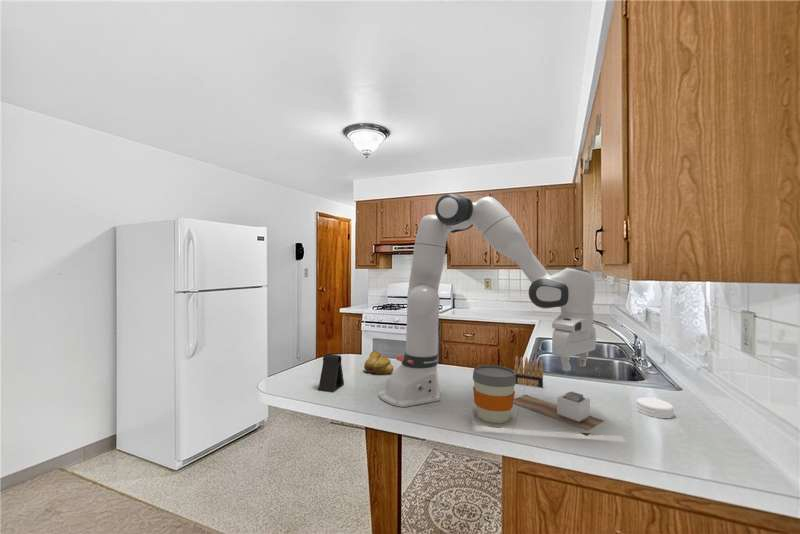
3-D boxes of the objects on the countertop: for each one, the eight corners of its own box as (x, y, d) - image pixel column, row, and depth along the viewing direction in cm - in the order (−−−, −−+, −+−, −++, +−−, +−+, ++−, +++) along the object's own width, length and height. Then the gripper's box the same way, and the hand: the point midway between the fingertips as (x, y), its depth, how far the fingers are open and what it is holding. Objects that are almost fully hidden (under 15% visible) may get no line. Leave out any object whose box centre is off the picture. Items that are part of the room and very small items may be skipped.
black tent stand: (333, 392, 130) (334, 358, 130) (318, 390, 131) (318, 357, 131) (344, 384, 138) (345, 353, 138) (329, 382, 140) (330, 351, 140)
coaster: (628, 409, 122) (629, 398, 122) (649, 405, 126) (650, 395, 126) (659, 421, 113) (659, 409, 113) (680, 417, 117) (681, 406, 117)
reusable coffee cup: (509, 434, 101) (511, 380, 101) (465, 423, 107) (467, 372, 107) (518, 418, 112) (520, 369, 112) (478, 409, 118) (479, 362, 118)
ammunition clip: (543, 390, 138) (544, 358, 138) (542, 391, 136) (543, 359, 136) (513, 385, 142) (514, 355, 142) (512, 387, 141) (513, 356, 141)
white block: (579, 421, 105) (579, 401, 105) (557, 413, 110) (557, 395, 110) (589, 415, 109) (590, 397, 109) (567, 408, 115) (568, 390, 115)
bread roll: (397, 372, 156) (398, 353, 156) (384, 378, 148) (384, 358, 148) (373, 367, 163) (374, 349, 163) (359, 372, 155) (360, 353, 155)
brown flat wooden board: (587, 435, 101) (588, 405, 101) (506, 405, 122) (507, 380, 121) (604, 425, 108) (605, 396, 108) (525, 398, 128) (526, 374, 128)
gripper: (582, 318, 119) (579, 361, 119) (548, 322, 106) (546, 370, 106) (602, 321, 114) (600, 365, 114) (570, 326, 101) (568, 376, 101)
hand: (574, 368), depth 110 cm, fingers open, 8 cm apart
